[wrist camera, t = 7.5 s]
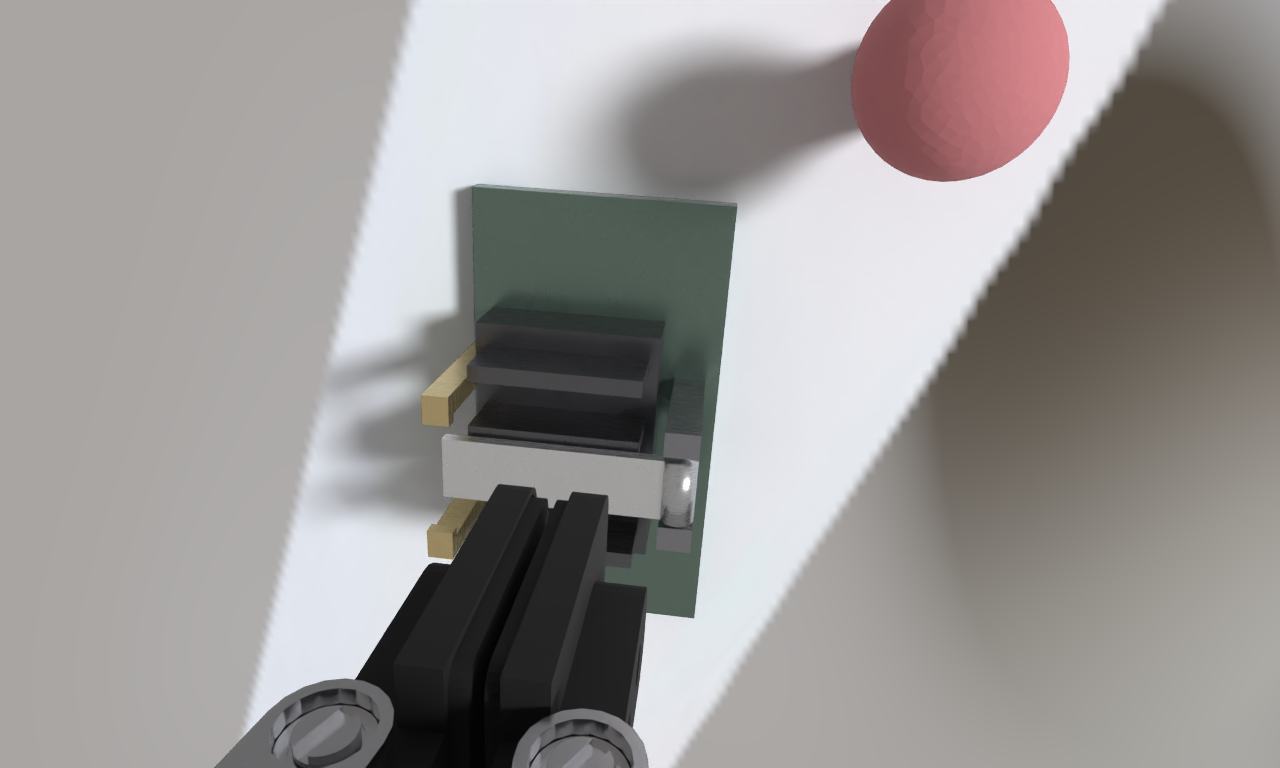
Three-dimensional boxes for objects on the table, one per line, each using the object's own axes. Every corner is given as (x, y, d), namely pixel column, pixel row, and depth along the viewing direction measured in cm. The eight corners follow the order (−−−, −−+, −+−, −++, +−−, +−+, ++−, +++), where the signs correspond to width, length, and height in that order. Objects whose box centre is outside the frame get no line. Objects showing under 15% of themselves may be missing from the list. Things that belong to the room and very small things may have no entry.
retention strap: (449, 429, 36) (437, 443, 35) (699, 454, 35) (698, 470, 34) (450, 485, 37) (439, 501, 36) (693, 511, 36) (692, 528, 35)
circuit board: (479, 183, 39) (410, 209, 30) (736, 203, 38) (740, 235, 29) (485, 581, 47) (432, 688, 39) (694, 605, 46) (687, 721, 38)
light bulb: (828, 171, 37) (873, 205, 26) (819, 9, 34) (866, -33, 23) (983, 151, 36) (1100, 177, 25) (986, -17, 33) (1117, -74, 22)
